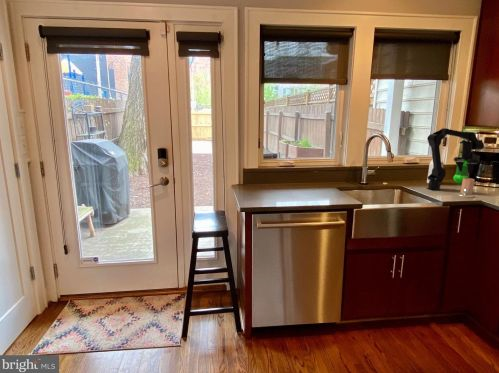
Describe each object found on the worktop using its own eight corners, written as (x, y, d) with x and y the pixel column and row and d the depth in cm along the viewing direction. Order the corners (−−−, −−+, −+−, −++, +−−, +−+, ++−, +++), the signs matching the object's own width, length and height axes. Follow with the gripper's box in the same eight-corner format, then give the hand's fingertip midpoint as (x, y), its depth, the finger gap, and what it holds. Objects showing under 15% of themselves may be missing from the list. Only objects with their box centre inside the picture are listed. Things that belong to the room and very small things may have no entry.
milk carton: (430, 181, 258) (434, 157, 254) (440, 183, 253) (444, 159, 248) (426, 183, 254) (430, 158, 249) (436, 184, 248) (440, 159, 244)
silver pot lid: (463, 197, 212) (464, 190, 211) (453, 193, 221) (454, 187, 220) (477, 197, 213) (478, 190, 212) (466, 193, 222) (468, 187, 221)
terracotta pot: (465, 194, 221) (467, 179, 219) (458, 191, 227) (461, 177, 225) (474, 194, 222) (476, 179, 219) (467, 191, 228) (469, 177, 225)
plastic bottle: (462, 181, 262) (467, 150, 256) (470, 184, 252) (476, 152, 246) (449, 181, 262) (454, 149, 256) (457, 184, 252) (462, 151, 246)
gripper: (488, 150, 219) (485, 173, 221) (469, 149, 237) (467, 170, 240) (471, 150, 219) (469, 174, 221) (454, 149, 237) (452, 170, 240)
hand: (464, 172), depth 231 cm, fingers open, 9 cm apart
